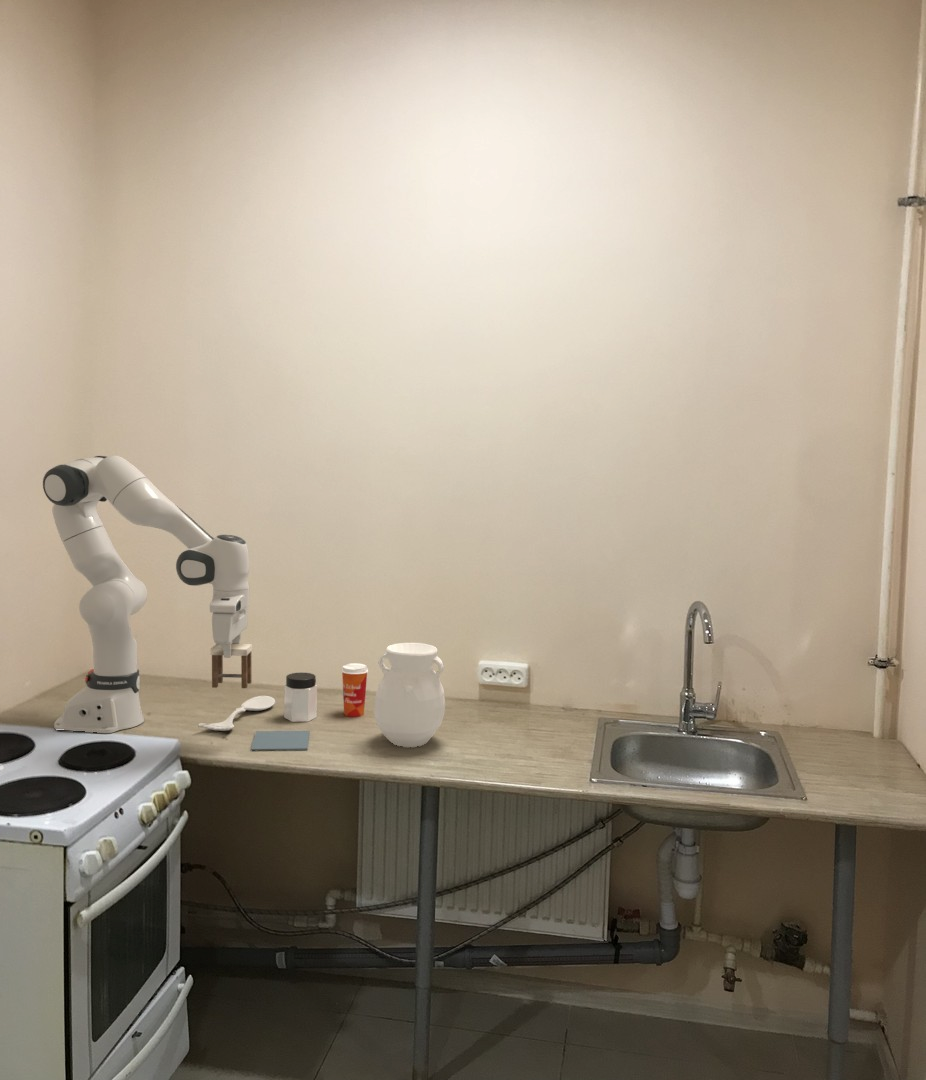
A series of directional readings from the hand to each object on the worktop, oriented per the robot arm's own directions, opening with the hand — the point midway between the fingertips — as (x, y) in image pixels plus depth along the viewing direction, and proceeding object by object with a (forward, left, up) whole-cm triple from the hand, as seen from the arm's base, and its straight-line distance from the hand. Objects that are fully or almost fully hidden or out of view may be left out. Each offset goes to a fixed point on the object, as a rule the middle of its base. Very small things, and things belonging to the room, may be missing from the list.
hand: (231, 653), depth 232 cm
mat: (+12, +1, -23) cm, 27 cm away
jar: (+16, +21, -24) cm, 36 cm away
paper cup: (+31, +24, -24) cm, 46 cm away
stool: (0, 0, -8) cm, 8 cm away
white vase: (+45, 0, -24) cm, 51 cm away
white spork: (0, +21, -24) cm, 32 cm away
